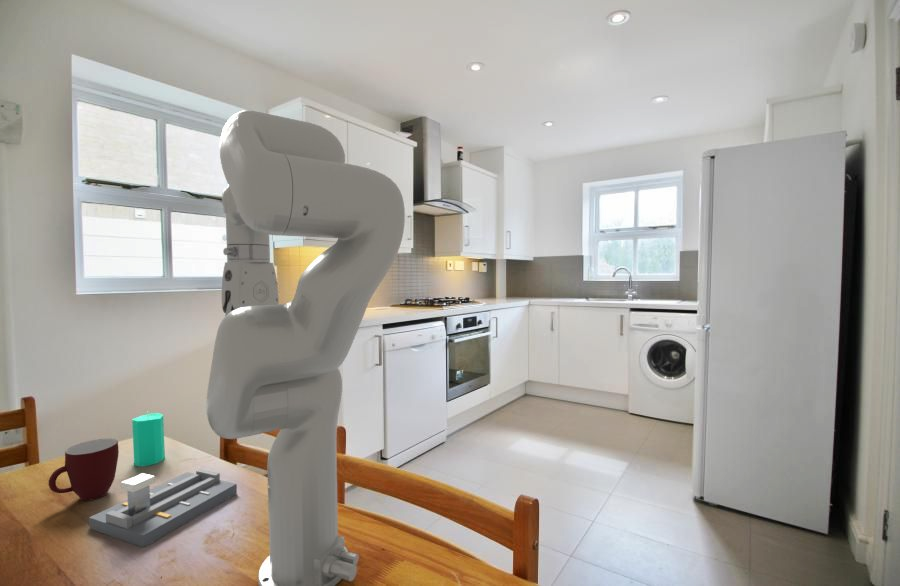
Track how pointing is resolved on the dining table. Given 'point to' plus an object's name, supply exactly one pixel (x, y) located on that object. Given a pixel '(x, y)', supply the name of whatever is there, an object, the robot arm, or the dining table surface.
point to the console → (165, 508)
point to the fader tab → (138, 492)
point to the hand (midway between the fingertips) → (251, 349)
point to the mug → (89, 468)
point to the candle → (148, 439)
